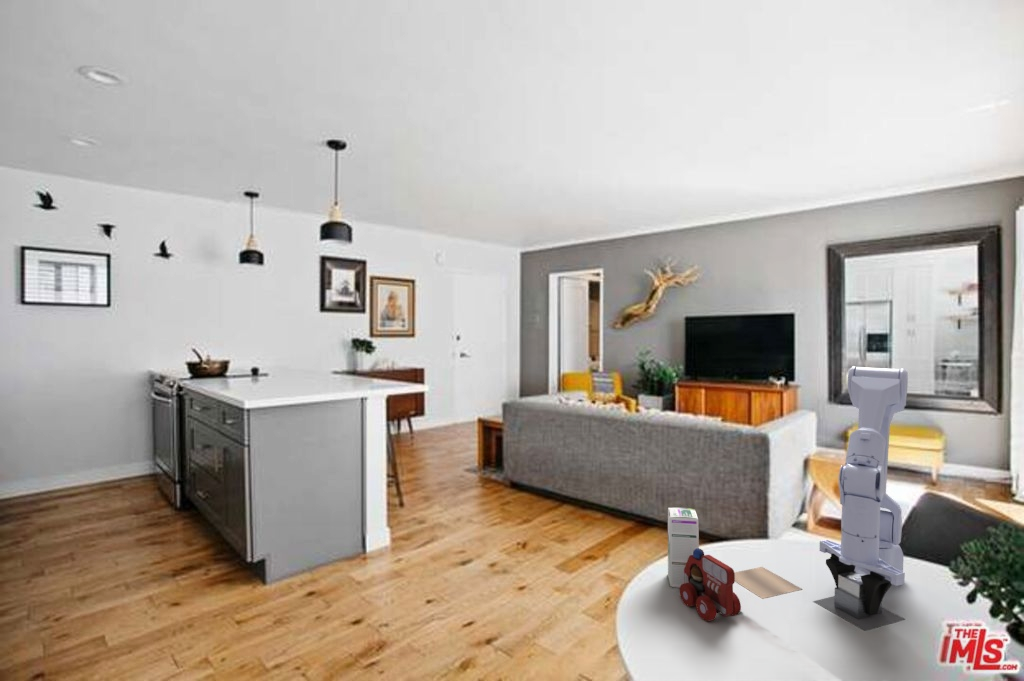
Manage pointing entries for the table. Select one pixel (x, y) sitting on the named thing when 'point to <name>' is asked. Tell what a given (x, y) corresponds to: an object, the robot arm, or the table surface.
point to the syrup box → (681, 542)
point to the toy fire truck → (709, 586)
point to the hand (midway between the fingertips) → (857, 606)
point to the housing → (852, 595)
